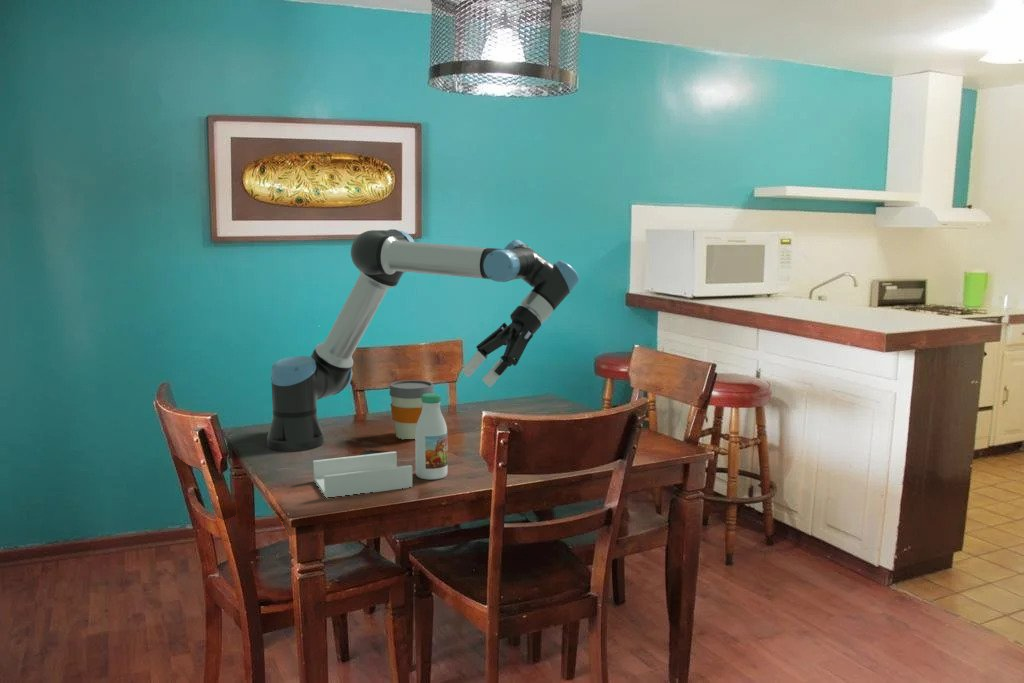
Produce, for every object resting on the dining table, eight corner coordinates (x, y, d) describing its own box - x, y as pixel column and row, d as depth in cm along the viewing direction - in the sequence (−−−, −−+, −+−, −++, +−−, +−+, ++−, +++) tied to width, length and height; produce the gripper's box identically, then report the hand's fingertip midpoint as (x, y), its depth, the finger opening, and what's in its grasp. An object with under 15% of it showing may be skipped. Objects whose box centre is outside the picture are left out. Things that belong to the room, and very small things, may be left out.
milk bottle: (413, 480, 196) (412, 397, 193) (418, 470, 203) (417, 391, 200) (445, 480, 195) (445, 398, 192) (449, 471, 203) (449, 391, 200)
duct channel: (313, 481, 194) (313, 460, 193) (395, 471, 202) (395, 451, 202) (325, 498, 182) (325, 476, 181) (412, 487, 190) (412, 466, 190)
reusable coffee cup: (388, 441, 229) (388, 389, 226) (391, 430, 241) (390, 380, 239) (434, 441, 230) (433, 388, 228) (434, 429, 242) (433, 379, 240)
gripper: (564, 330, 194) (506, 398, 190) (519, 319, 217) (466, 379, 213) (544, 308, 191) (485, 377, 187) (500, 299, 214) (447, 360, 210)
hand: (475, 378), depth 200 cm, fingers open, 13 cm apart
